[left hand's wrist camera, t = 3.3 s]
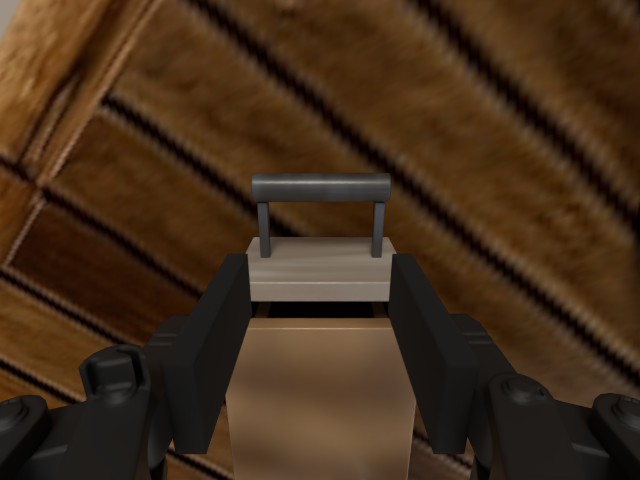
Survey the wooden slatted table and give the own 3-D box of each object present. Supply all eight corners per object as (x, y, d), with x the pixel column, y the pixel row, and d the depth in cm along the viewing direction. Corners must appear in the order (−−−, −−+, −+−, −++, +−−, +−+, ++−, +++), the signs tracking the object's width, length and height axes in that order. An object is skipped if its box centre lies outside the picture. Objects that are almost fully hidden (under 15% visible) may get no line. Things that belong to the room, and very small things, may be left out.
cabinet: (249, 259, 28) (217, 328, 19) (392, 259, 28) (425, 328, 19) (263, 449, 35) (243, 565, 26) (378, 449, 35) (397, 565, 26)
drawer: (248, 164, 25) (220, 186, 18) (393, 164, 25) (422, 186, 18) (266, 429, 33) (251, 515, 26) (375, 429, 33) (390, 516, 26)
